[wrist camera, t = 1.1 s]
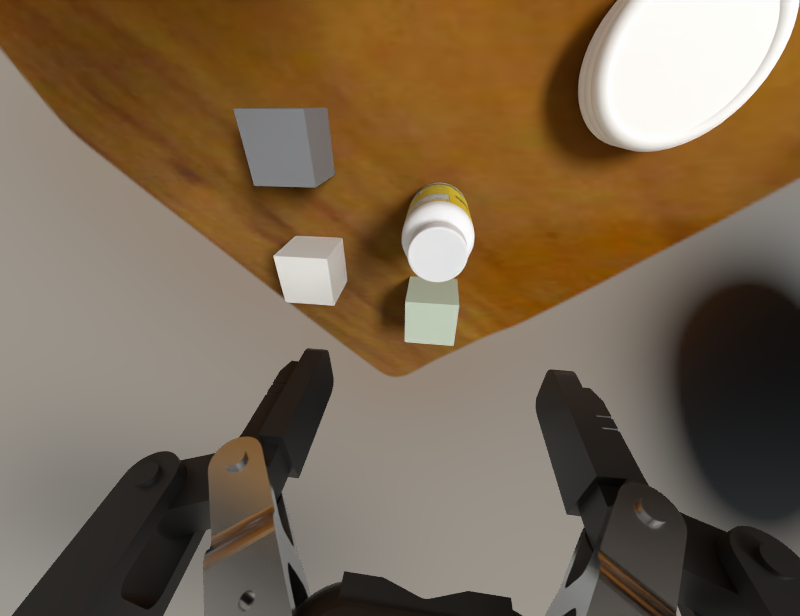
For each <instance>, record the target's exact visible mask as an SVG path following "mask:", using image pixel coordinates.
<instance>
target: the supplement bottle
mask: <svg viewBox="0 0 800 616" xmlns="http://www.w3.org/2000/svg"><path fill="white" fill-rule="evenodd" d="M473 244H474V228H473V223H472V219H471V216H470V212H469V209H468V205H467V202H466V200H465V198H464V196H463V194H462V193H461V192H460V191H459V190H458V189H457V188H455V187H454V186H452V185H449V184H446V183H433V184H430V185H427V186H425V187H423V188H422V189H421V190H419V191H418V192H417V193H416V195H415V196H414V198H413V199H412V201H411V204H410V206H409V210H408V213H407V217H406V220H405V223H404V226H403V230H402V246H403V250H404V252H405V254H406V256H407V258H408V262H409V265H410V267H411V269H412V270H413V271H414V272H415V274H417V275H418V276H419V277H421V278H422V279H424V280H427V281H430V282H444V281H448V280H450V279H452V278H454V277H455V276H457V275H458V274H459V273H460V272H461V271H462V270H463V268H464V267H465V265H466V262H467V258H468V256H469V254H470V253H471V251H472V248H473Z"/></svg>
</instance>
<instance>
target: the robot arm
mask: <svg viewBox="0 0 800 616" xmlns="http://www.w3.org/2000/svg"><path fill="white" fill-rule="evenodd" d="M332 389H333V373H332V367H331V362H330V357H329V352H328V351H327V350H322V349H310V348H308V349H306V350H305V351H304V353H303V355H302V357H301V358H300V360H299V362H298V361H291V362H290V363H289V364H288V365H286V366H285V367H284V368H283V369H282V370H281V371H280V372H279V374H278V376H277V377H276V379H275V380H274V382H273V385H271V387H270V389H269V390H268V392H267V395H265V397H264V399H263V400H262V402H261V403H260V405H259V407H258V408H257V410H256V412H255V413H254V415H253V416H252V418H251V420H250V422H249V423H248V425H247V426H246V428H245V430H244V431H243V433H242V434H241V435H240V437H239V438H236V439H233V440H231V441H229V442H227V443H226V444H225V445H223V446H222V447H221V448H220V449H219V450H218V451H217V452H216V453H214V454H210V455H205V456H200V457H195V458H190V459H185V460H180V459H179V458H178V457H177V456H176V455H175V454H174V453H172V452H168V451H164V452H157V453H154V454H152V455H149V456H147V457H145V458H143V459H142V460H140V461H139V462H137V463H136V464H135V465H133V466H132V467H131V468H130V469H129V470H128V471H127V472H126V473H125V475H124V476H123V477H122V478H121V479H120V481H119V482H118V483H117V485H116V486H115V487H114V488H113V489H112V491H111V492H110V493H109V494H108V496H107V497H106V498H105V499H104V501H103V502H102V503H101V504H100V506H99V507H98V508H97V510H96V511H95V512H94V513H93V515H92V516H91V517H90V518H89V519H88V521H87V522H86V523H85V525H84V526H83V527H82V528H81V530H80V531H79V532H78V533H77V535H76V536H75V537H74V538H73V540H72V541H71V542H70V544H69V545H68V546H67V547H66V548H65V550H64V551H63V552H62V553H61V555H60V556H59V557H58V558H57V560H56V561H55V562H54V563H53V565H52V566H51V567H50V568H49V570H48V571H47V572H46V573H45V575H44V576H43V577H42V578H41V580H40V581H39V582H38V583H37V585H36V586H35V587H34V588H33V590H32V591H31V592H30V593H29V595H28V596H27V597H26V598H25V600H24V601H23V602H22V603H21V605H20V606H19V607H18V608H17V610H16V611H15V612H14V614H13V615H12V616H163V614H164V613H165V611H166V609H167V607H168V605H169V603H170V601H171V599H172V597H173V595H174V593H175V591H176V589H177V587H178V585H179V583H180V581H181V579H182V577H183V575H184V573H185V571H186V569H187V567H188V565H189V563H190V561H191V559H192V557H193V555H194V553H195V551H196V549H197V547H198V545H199V543H200V541H201V539H202V537H203V535H204V533H205V531H206V530H208V529H211V547H210V549H209V550H207V551H206V553H205V556H204V561H203V585H204V587H203V588H204V616H522V615H520V614H519V613H517V612H515V611H514V610H513V609H512V602H511V598H508V597H502V596H496V595H489V594H483V593H477V592H471V591H466V592H462V593H456V594H451V595H447V596H442V597H436V598H431V599H423V598H420V597H418V596H416V595H415V594H413V593H411V592H409V591H407V590H406V589H404V588H402V587H400V586H398V585H396V584H394V583H393V582H391V581H389V580H387V579H385V578H383V577H376V576H369V575H364V574H358V573H351V572H344V575H343V580H342V582H338V583H334V584H332V585H329V586H326V587H324V588H323V589H321V590H319V591H317V592H315V593H314V594H313V595H310V591H309V587H308V583H307V579H306V575H305V572H304V568H303V565H302V562H301V559H300V556H299V553H298V550H297V546H296V543H295V538H294V534H293V530H292V526H291V522H290V518H289V514H288V509H287V505H286V501H285V497H284V493H283V487H284V485H285V482H286V480H287V478H288V477H293V478H299V476H300V474H301V471H302V468H303V466H304V463H305V460H306V458H307V455H308V453H309V450H310V447H311V445H312V442H313V440H314V437H315V434H316V432H317V429H318V427H319V424H320V421H321V419H322V416H323V413H324V411H325V408H326V406H327V403H328V401H329V398H330V396H331V393H332ZM536 413H537V417H538V420H539V423H540V427H541V430H542V433H543V437H544V440H545V443H546V446H547V450H548V453H549V457H550V460H551V463H552V467H553V470H554V473H555V477H556V480H557V483H558V486H559V490H560V493H561V496H562V500H563V503H564V506H565V510H566V513H567V514H568V515H576V516H581V518H582V521H583V524H584V528H583V530H582V532H581V535H580V537H579V540H578V543H577V545H576V548H575V550H574V553H573V555H572V558H571V561H570V563H569V566H568V568H567V571H566V573H565V576H564V579H563V581H562V584H561V586H560V589H559V591H558V593H557V594H556V596H555V598H554V599H553V601H552V603H551V604H550V606H549V608H548V610H547V613H546V615H545V616H676V612H677V606H678V608H679V610H680V613H681V615H682V616H800V558H799V557H798V556H797V555H796V554H795V553H794V552H793V551H792V550H791V549H789V548H788V547H787V546H786V545H784V544H783V543H782V542H780V541H779V540H777V539H776V538H774V537H772V536H771V535H769V534H767V533H765V532H763V531H761V530H758V529H756V528H753V527H749V526H737V527H735V528H733V529H731V530H730V531H728V532H725V531H723V530H720V529H718V528H716V527H713V526H711V525H709V524H706V523H704V522H701V521H699V520H696V519H694V518H692V517H689V516H687V515H685V514H683V513H681V512H679V511H678V509H677V508H676V506H675V505H674V504H673V503H672V502H671V501H670V500H669V499H668V498H667V497H666V496H664V495H663V494H662V493H661V492H659V491H658V490H656V489H654V488H652V487H651V486H649V485H648V483H647V482H646V480H645V478H644V477H643V475H642V473H641V471H640V469H639V467H638V466H637V463H636V461H635V460H634V458H633V456H632V454H631V452H630V450H629V449H628V447H627V445H626V443H625V441H624V439H623V437H622V435H621V434H620V432H618V430H617V429H618V428H617V426H616V424H615V423H614V421H613V419H611V415H610V413H609V411H608V410H607V408H606V406H605V404H604V402H603V401H602V400H601V399H600V398H599V397H598V396H597V395H596V394H595V393H594V392H593V391H592V390H591V389H590V388H583V387H582V385H581V383H580V381H579V379H578V377H577V375H576V374H575V373H574V372H572V371H562V370H548V371H547V373H546V375H545V378H544V380H543V383H542V385H541V388H540V390H539V393H538V395H537V398H536Z"/></svg>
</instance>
